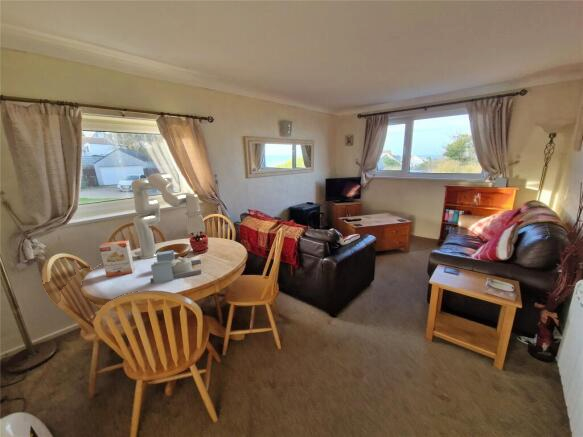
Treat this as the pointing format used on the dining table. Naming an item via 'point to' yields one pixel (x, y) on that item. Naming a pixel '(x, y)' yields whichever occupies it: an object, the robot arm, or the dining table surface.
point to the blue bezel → (163, 267)
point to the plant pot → (199, 244)
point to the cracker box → (117, 258)
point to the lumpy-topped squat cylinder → (181, 265)
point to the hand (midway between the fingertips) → (197, 241)
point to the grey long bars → (185, 272)
